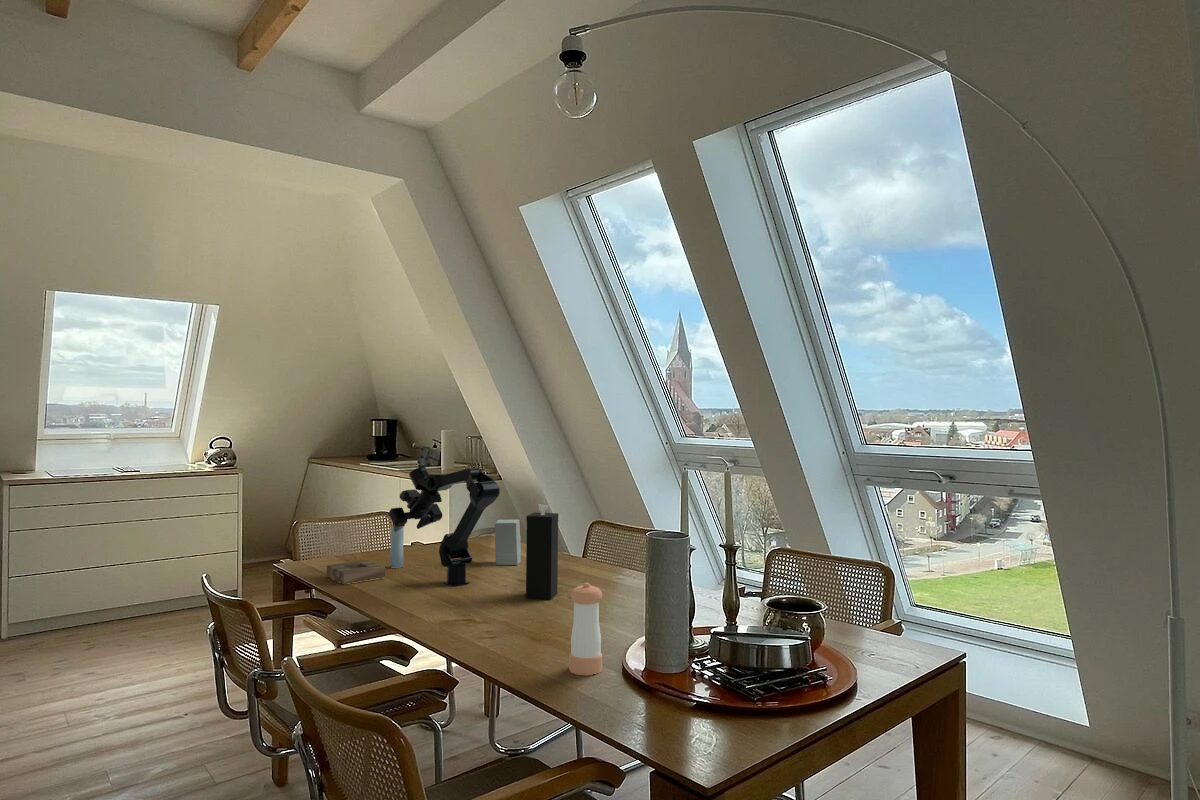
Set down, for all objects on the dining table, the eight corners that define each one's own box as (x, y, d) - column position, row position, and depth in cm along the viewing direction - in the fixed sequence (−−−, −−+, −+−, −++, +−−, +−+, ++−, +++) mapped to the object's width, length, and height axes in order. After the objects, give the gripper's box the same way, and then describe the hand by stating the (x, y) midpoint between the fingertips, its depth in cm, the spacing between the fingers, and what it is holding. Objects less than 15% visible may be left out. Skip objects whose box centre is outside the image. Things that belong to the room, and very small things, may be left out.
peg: (405, 567, 273) (405, 527, 273) (393, 569, 270) (394, 529, 270) (399, 565, 277) (400, 526, 277) (388, 567, 274) (388, 527, 274)
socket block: (385, 578, 256) (385, 566, 256) (343, 585, 246) (343, 572, 246) (366, 571, 266) (367, 559, 266) (326, 577, 257) (326, 565, 257)
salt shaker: (562, 671, 170) (563, 583, 170) (581, 662, 176) (582, 577, 176) (589, 678, 166) (590, 588, 166) (608, 668, 172) (609, 582, 172)
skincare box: (521, 562, 284) (521, 519, 284) (517, 566, 277) (517, 522, 277) (498, 561, 285) (498, 518, 285) (493, 565, 278) (494, 521, 278)
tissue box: (550, 600, 231) (551, 506, 231) (525, 598, 232) (526, 505, 232) (557, 593, 239) (558, 502, 239) (532, 592, 240) (534, 501, 240)
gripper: (438, 480, 273) (419, 508, 281) (392, 484, 259) (373, 513, 267) (451, 505, 268) (432, 533, 275) (405, 510, 254) (386, 539, 261)
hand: (406, 529), depth 270 cm, fingers open, 9 cm apart
